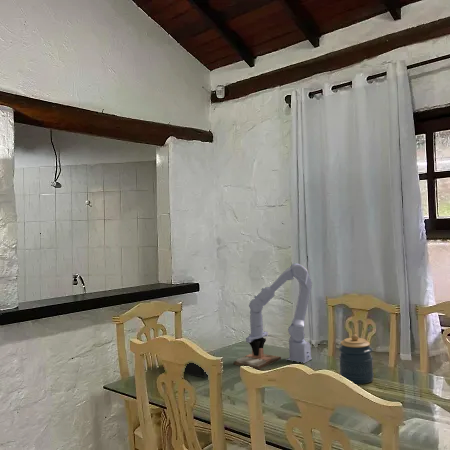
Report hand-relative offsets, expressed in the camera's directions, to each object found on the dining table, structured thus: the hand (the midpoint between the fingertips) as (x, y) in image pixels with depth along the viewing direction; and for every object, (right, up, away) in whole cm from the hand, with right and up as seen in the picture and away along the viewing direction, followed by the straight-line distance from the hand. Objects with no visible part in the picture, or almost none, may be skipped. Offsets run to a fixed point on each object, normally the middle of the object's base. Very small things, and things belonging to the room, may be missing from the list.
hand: (257, 354), depth 210 cm
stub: (0, -2, 0) cm, 2 cm away
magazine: (-32, -5, -10) cm, 34 cm away
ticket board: (0, -3, 0) cm, 3 cm away
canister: (+37, -1, -29) cm, 47 cm away
